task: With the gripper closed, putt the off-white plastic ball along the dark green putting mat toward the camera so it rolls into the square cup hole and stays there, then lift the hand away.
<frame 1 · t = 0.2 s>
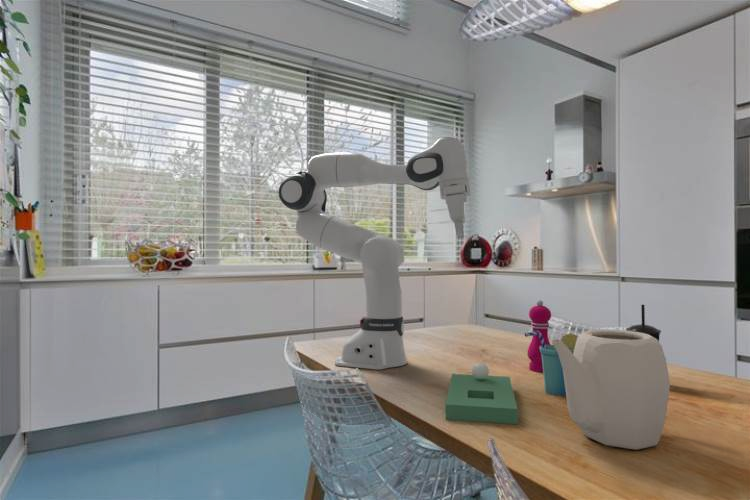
hand: (460, 237, 135), 39 cm above the table, tool pointing down, fingers open, 8 cm apart
watering can: (612, 440, 81), on the table
drinking cup: (644, 383, 116), on the table
putting mat: (480, 402, 102), on the table
cup: (553, 393, 109), on the table
pepper mill: (540, 370, 130), on the table
ball: (480, 371, 109), point 5 cm above the table, touching putting mat
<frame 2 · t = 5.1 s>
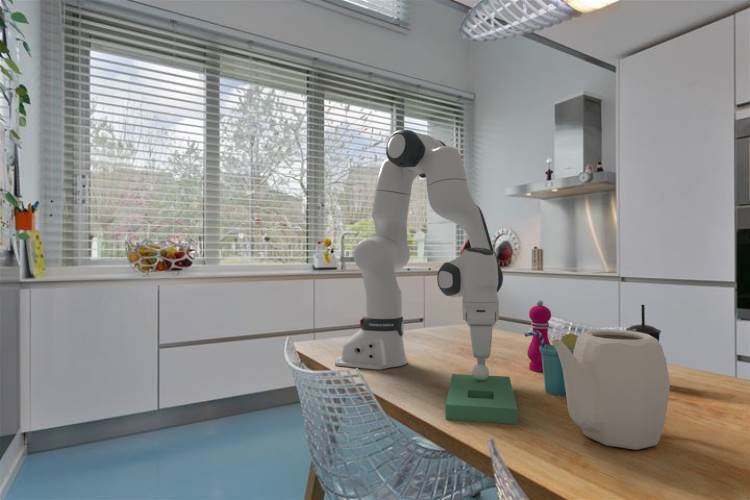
hand: (481, 368, 112), 5 cm above the table, tool pointing down, fingers closed
ball: (480, 372, 109), point 5 cm above the table, tilted 26°, touching gripper, putting mat
everything else where it was.
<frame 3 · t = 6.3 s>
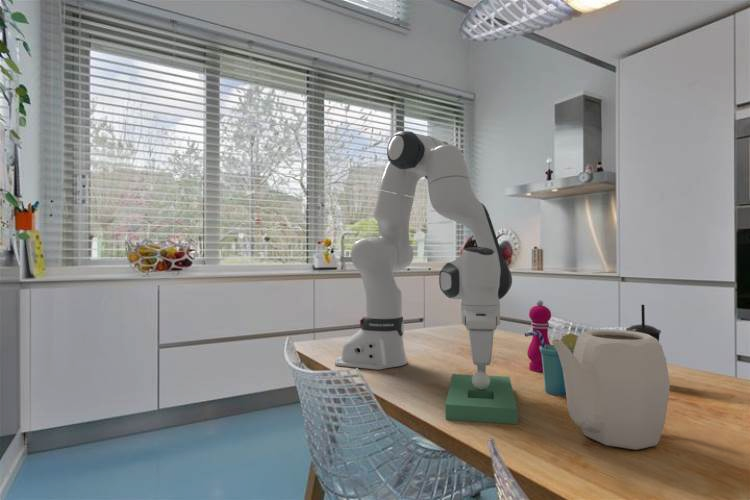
hand: (481, 376, 105), 5 cm above the table, tool pointing down, fingers closed
ball: (480, 380, 101), point 5 cm above the table, tilted 119°, touching putting mat
everything else where it was.
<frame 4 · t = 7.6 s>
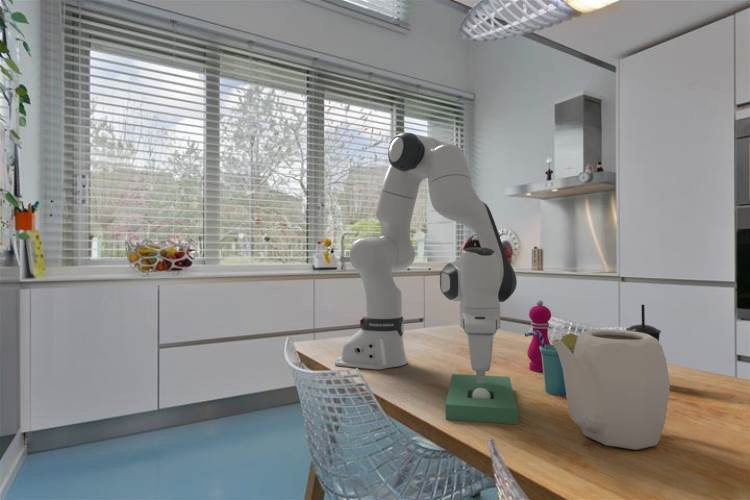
hand: (480, 381, 101), 5 cm above the table, tool pointing down, fingers closed
ball: (481, 397, 98), point 2 cm above the table, tilted 7°, touching putting mat
everything else where it was.
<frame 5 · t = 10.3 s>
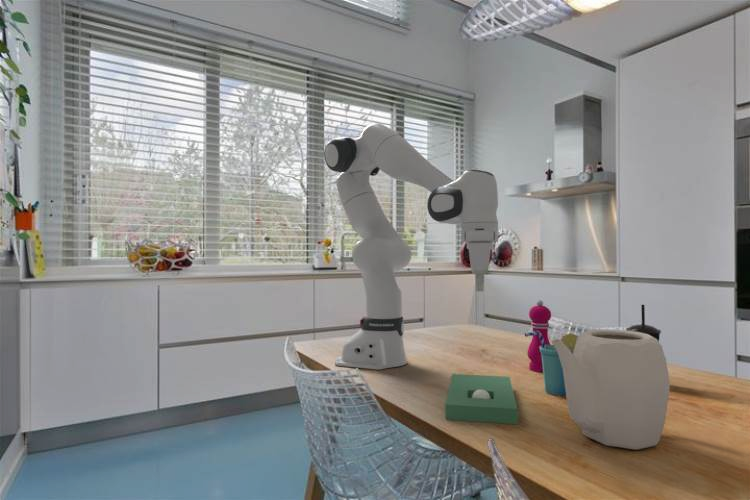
hand: (479, 291, 112), 24 cm above the table, tool pointing down, fingers closed
ball: (481, 399, 97), point 2 cm above the table, tilted 30°, touching putting mat
everything else where it was.
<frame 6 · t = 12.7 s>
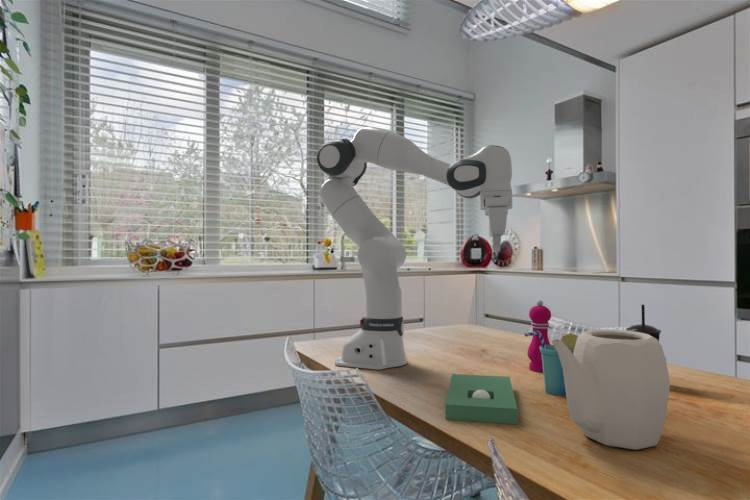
hand: (496, 251, 128), 34 cm above the table, tool pointing down, fingers closed
nothing on the table moved.
at the end: ball 0.7 cm from the target spot on the putting mat, point 2.2 cm above the putting mat's base; ball moved 13.0 cm from its start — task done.
